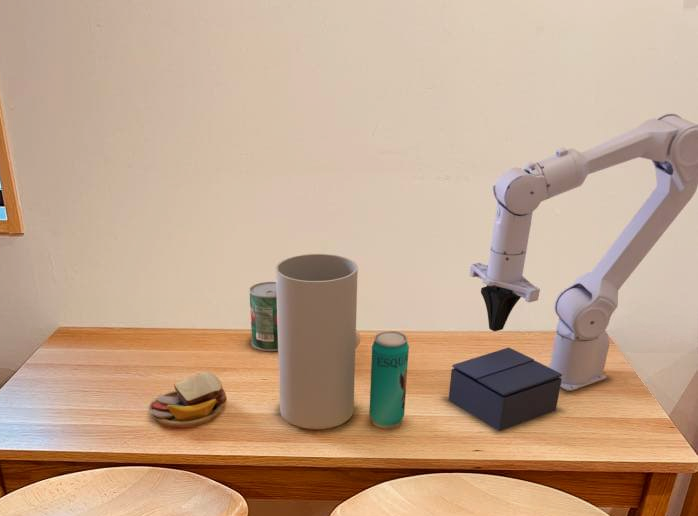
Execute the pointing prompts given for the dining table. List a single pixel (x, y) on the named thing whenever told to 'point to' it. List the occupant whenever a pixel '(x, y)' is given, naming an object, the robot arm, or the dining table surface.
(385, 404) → the beverage can
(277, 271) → the cylinder vase
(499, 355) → the flap
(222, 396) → the toy sandwich meal
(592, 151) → the robot arm
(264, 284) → the canned tomato
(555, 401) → the carton
